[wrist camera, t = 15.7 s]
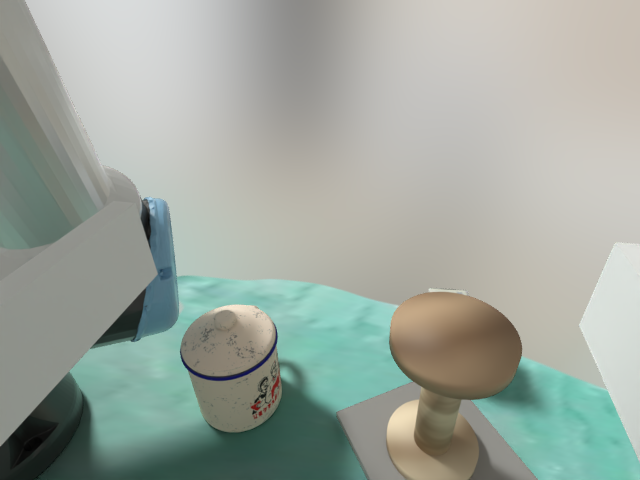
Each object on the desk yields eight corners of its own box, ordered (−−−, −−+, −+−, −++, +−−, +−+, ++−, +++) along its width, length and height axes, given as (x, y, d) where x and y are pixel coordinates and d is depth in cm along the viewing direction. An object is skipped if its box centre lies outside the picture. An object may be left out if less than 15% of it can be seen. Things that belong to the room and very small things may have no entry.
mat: (336, 416, 40) (336, 411, 40) (443, 373, 44) (444, 369, 44) (408, 561, 30) (409, 557, 30) (539, 488, 34) (541, 483, 34)
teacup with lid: (272, 442, 38) (258, 359, 32) (183, 430, 39) (153, 349, 33) (297, 347, 48) (290, 269, 42) (225, 340, 49) (208, 264, 43)
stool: (363, 422, 39) (368, 310, 31) (440, 390, 41) (463, 280, 34) (416, 518, 32) (440, 405, 24) (505, 471, 34) (552, 357, 27)
